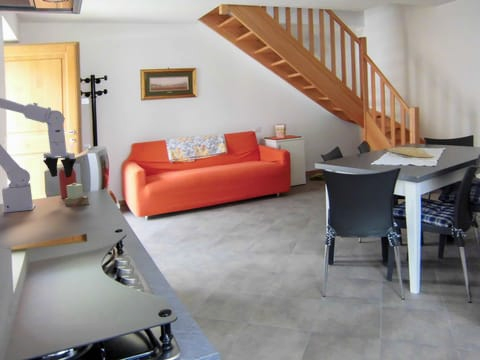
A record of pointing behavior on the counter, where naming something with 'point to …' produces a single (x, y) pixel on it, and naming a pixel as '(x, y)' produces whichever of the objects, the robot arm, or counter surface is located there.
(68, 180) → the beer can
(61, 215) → the counter surface
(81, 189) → the sage brick
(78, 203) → the walnut block
